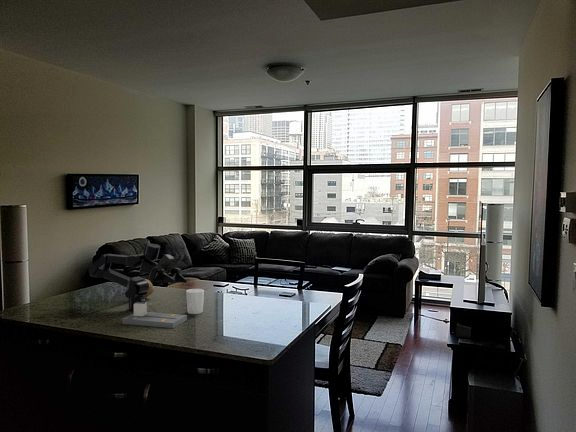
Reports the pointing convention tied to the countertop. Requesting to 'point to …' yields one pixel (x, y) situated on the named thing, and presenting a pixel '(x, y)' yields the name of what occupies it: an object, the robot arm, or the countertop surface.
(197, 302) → the white cup
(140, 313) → the fader cap
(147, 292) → the natural sponge
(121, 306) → the countertop surface
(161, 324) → the slider track base
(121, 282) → the robot arm
